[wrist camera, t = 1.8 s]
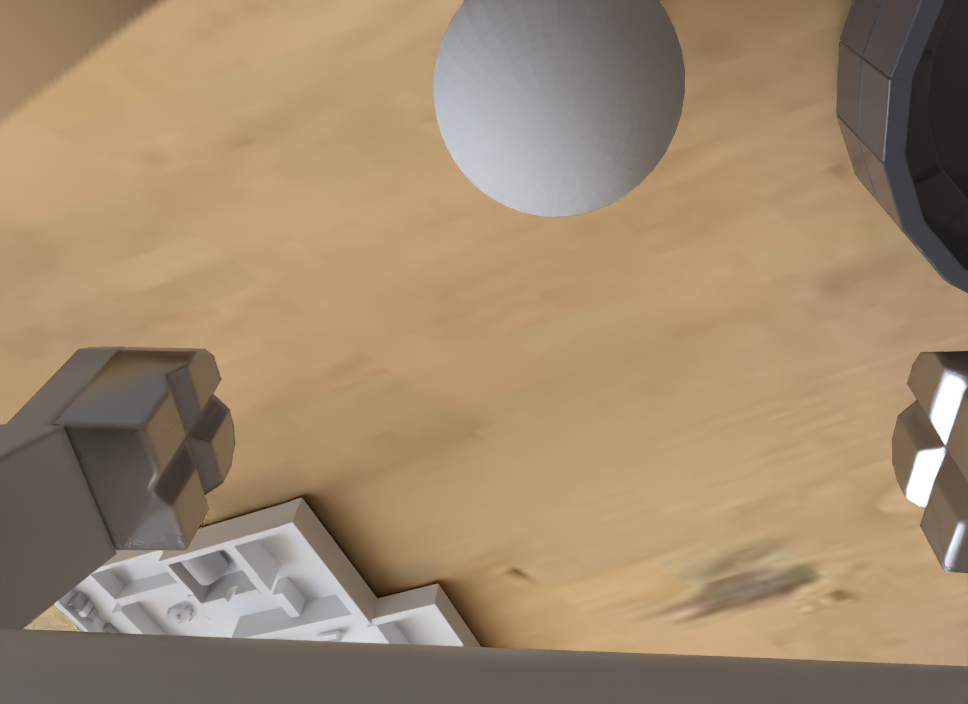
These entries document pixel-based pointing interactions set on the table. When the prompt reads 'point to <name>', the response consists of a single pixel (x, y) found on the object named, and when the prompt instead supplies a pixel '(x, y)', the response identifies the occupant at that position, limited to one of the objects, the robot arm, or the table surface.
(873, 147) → the bowl
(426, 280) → the table surface
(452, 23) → the light bulb
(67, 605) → the floor plan model
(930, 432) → the robot arm
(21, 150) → the table surface
